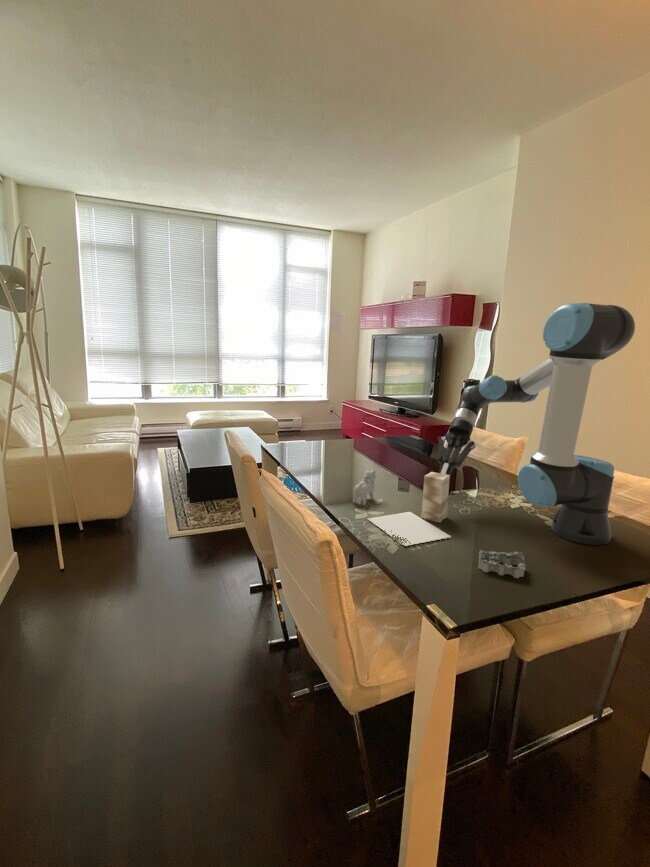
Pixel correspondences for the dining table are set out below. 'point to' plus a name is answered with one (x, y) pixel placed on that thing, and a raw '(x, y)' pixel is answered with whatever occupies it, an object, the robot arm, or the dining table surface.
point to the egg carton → (504, 558)
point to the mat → (409, 528)
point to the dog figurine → (365, 486)
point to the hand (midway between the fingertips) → (441, 481)
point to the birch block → (435, 496)
